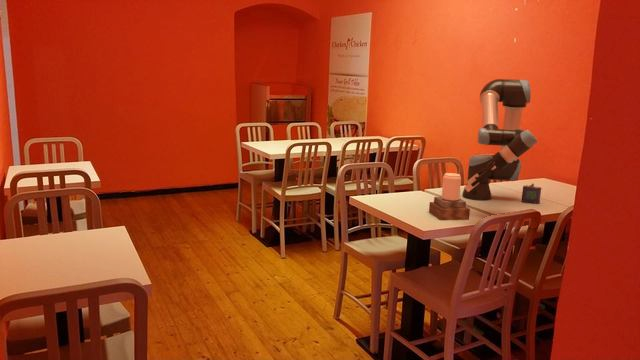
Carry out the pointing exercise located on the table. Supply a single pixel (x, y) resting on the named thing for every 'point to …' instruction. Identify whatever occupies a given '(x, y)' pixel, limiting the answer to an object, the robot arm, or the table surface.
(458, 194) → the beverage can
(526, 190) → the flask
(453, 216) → the stepped brown pedestal
